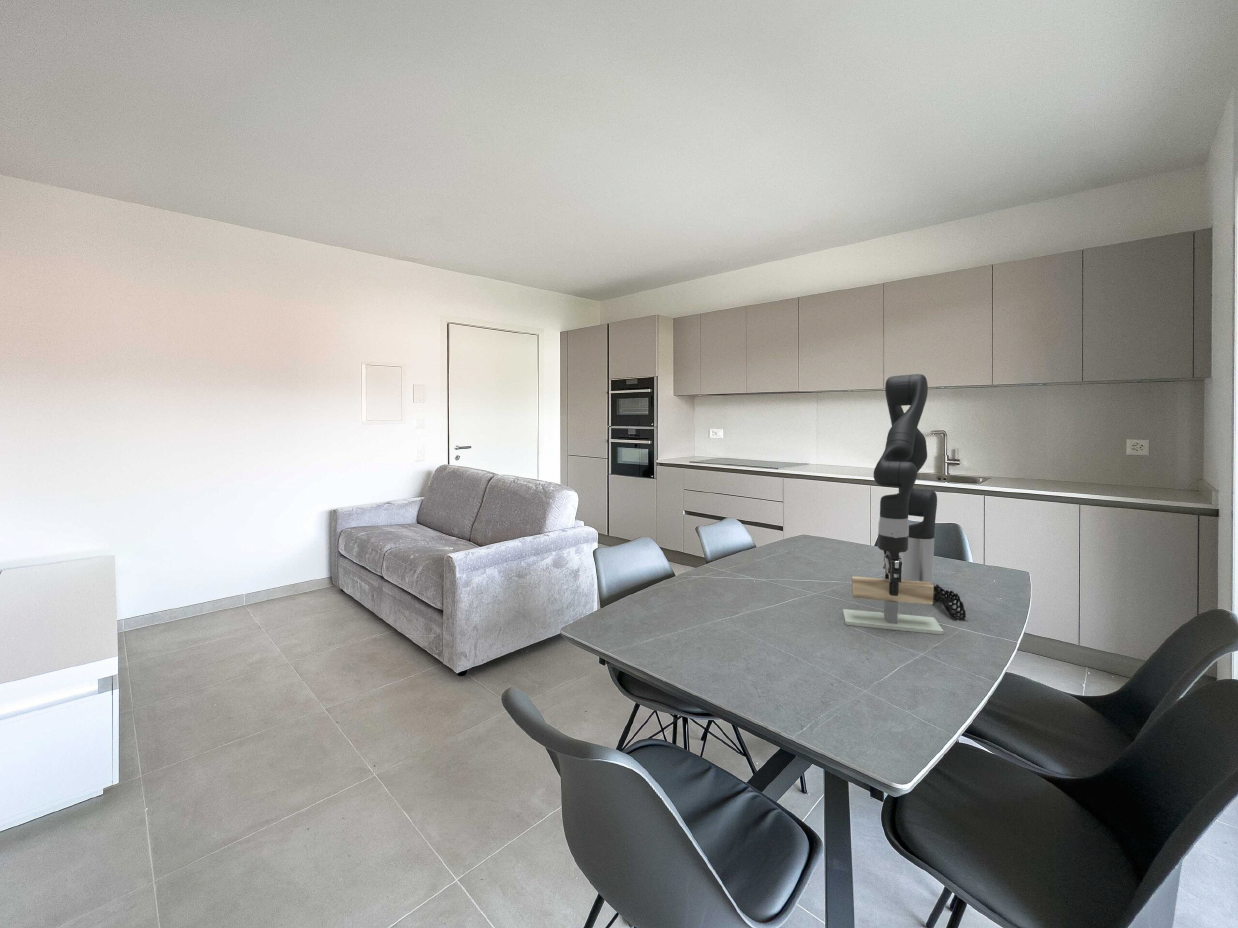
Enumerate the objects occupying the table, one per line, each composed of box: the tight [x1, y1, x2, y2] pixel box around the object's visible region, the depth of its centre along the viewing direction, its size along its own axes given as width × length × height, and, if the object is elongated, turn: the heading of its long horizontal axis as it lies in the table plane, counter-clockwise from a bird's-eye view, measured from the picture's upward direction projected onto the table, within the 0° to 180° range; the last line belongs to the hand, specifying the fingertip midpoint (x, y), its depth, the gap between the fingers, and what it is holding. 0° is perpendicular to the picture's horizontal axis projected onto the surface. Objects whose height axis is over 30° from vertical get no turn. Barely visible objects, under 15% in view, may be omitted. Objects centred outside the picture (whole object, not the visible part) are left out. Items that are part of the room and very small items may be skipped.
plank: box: [851, 576, 935, 606], centre depth 150 cm, size 4×20×5 cm, turn 72°
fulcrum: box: [842, 600, 944, 636], centre depth 151 cm, size 10×24×7 cm, turn 72°
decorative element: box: [933, 584, 967, 622], centre depth 162 cm, size 22×5×6 cm, turn 169°
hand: (891, 590), depth 150 cm, fingers open, 6 cm apart
